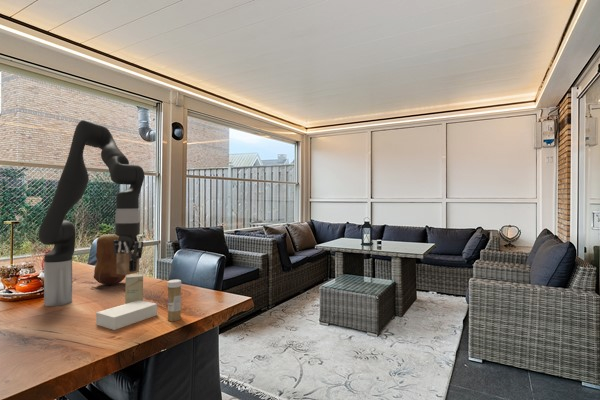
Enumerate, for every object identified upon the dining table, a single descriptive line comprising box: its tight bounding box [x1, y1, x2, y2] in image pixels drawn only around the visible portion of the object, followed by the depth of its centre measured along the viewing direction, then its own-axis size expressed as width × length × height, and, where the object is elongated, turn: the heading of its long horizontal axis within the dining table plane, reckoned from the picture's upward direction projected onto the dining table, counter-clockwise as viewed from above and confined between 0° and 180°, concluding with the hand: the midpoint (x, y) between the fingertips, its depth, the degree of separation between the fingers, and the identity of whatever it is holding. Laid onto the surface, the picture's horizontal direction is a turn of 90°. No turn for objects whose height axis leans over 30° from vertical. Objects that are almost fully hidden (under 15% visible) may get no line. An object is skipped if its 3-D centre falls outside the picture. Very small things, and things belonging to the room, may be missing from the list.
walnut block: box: [117, 252, 140, 275], centre depth 116 cm, size 5×5×7 cm
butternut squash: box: [93, 233, 126, 286], centre depth 164 cm, size 14×13×25 cm
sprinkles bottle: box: [166, 279, 182, 322], centre depth 116 cm, size 5×5×14 cm
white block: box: [95, 300, 158, 331], centre depth 116 cm, size 10×16×4 cm, turn 151°
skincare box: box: [124, 273, 144, 304], centre depth 130 cm, size 6×4×12 cm
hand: (127, 270), depth 116 cm, fingers closed on walnut block, 5 cm apart
